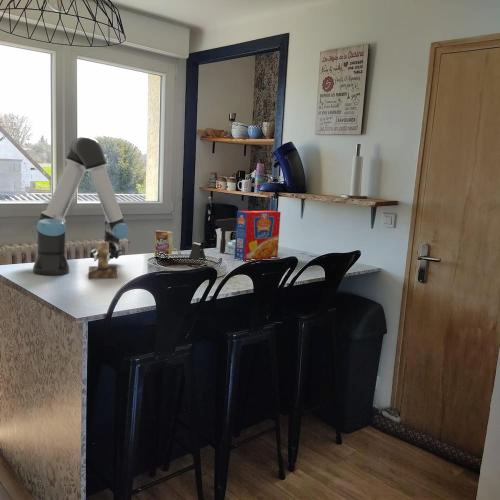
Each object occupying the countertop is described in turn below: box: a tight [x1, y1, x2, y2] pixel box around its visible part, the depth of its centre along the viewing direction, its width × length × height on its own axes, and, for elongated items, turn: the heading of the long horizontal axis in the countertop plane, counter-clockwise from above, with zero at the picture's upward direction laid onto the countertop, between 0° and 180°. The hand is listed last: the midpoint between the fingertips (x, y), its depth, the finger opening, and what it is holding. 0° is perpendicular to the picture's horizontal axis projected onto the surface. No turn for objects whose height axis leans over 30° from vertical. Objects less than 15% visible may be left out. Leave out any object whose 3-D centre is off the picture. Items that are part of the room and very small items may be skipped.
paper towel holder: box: [214, 217, 237, 254], centre depth 309 cm, size 16×21×33 cm
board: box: [88, 265, 118, 279], centre depth 220 cm, size 12×12×3 cm
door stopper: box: [188, 241, 207, 260], centre depth 256 cm, size 9×6×12 cm, turn 135°
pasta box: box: [233, 210, 282, 262], centre depth 287 cm, size 28×8×28 cm, turn 134°
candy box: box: [154, 230, 174, 257], centre depth 269 cm, size 9×4×15 cm, turn 72°
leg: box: [97, 241, 109, 270], centre depth 219 cm, size 5×5×15 cm
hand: (101, 258), depth 214 cm, fingers closed on leg, 5 cm apart
